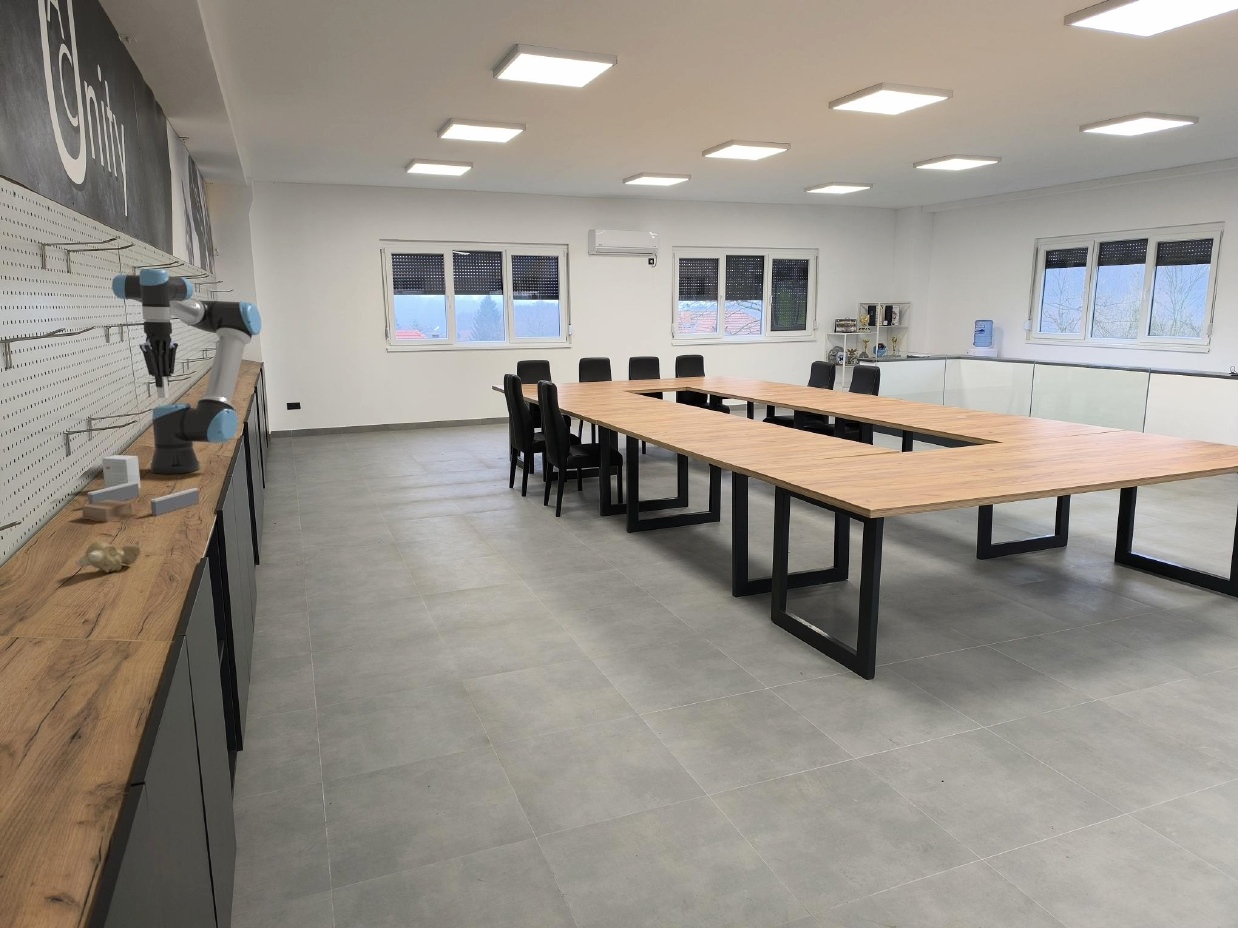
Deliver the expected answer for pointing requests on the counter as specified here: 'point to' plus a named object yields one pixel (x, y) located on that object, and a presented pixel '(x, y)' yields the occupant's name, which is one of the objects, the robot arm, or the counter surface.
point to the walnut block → (107, 510)
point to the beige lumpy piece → (109, 556)
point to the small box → (120, 470)
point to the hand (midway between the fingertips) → (163, 397)
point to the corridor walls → (157, 504)
